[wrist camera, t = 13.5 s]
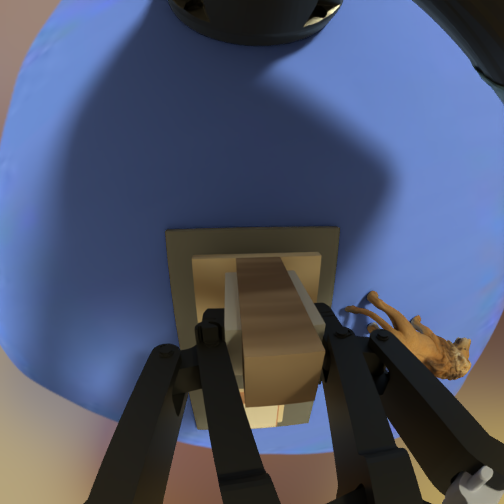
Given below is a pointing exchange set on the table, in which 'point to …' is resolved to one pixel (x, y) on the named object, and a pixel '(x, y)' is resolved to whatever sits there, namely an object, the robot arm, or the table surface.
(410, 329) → the lion figurine
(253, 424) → the cream square tile
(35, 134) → the table surface
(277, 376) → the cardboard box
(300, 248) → the taupe mat
